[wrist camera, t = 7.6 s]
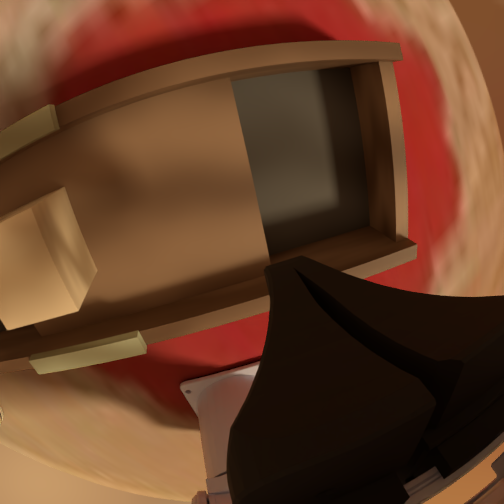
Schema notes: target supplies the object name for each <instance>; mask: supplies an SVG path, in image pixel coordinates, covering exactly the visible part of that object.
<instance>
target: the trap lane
mask: <svg viewBox="0 0 504 504" xmlns="http://www.w3.org/2000/svg"><path fill="white" fill-rule="evenodd" d="M400 60H403V56H402V52H401V47H400V43H392V42H378V41H352V40H332V41H305V42H290V43H279V44H270V45H261V46H254V47H247V48H240V49H234V50H228V51H223V52H217V53H212V54H207V55H203V56H198V57H194V58H189V59H185V60H181V61H177V62H174V63H170V64H166V65H163V66H159V67H156V68H152V69H149V70H146V71H143V72H139V73H136V74H133V75H130V76H127V77H125V78H122V79H119V80H116V81H113V82H111V83H108V84H106V85H103V86H100V87H98V88H95V89H93V90H91V91H88V92H86V93H83V94H81V95H79V96H77V97H74V98H72V99H70V100H68V101H66V102H63V103H61V104H59V105H57V106H54V105H51V104H48V105H46V106H44V107H43V108H41V109H39V110H37V111H35V112H33V113H31V114H30V115H28V116H26V117H24V118H22V119H21V120H19V121H17V122H16V123H14V124H12V125H11V126H9V127H7V128H6V129H4V130H3V131H1V132H0V217H2V216H4V215H5V214H7V213H9V212H11V211H13V210H15V209H17V208H19V207H21V206H23V205H25V204H27V203H29V202H31V201H34V200H36V199H38V198H40V197H42V196H44V195H47V194H49V193H51V192H53V191H55V190H58V189H60V188H62V187H65V189H66V192H67V195H68V198H69V201H70V204H71V207H72V209H73V212H74V215H75V217H76V220H77V223H78V225H79V228H80V230H81V233H82V235H83V238H84V240H85V243H86V245H87V248H88V250H89V252H90V255H91V257H92V259H93V261H94V264H95V266H96V268H97V270H98V271H97V273H96V275H95V277H94V279H93V281H92V283H91V285H90V287H89V289H88V292H87V294H86V296H85V298H84V300H83V302H82V305H81V307H80V309H79V311H77V312H74V313H70V314H66V315H63V316H59V317H56V318H52V319H48V320H45V321H41V322H37V323H34V324H30V325H26V326H23V327H19V328H15V329H11V330H7V329H6V327H5V326H4V324H3V322H2V321H1V319H0V374H1V373H8V372H15V371H21V370H27V369H33V368H34V369H35V370H36V372H37V373H38V374H39V375H40V374H46V373H52V372H58V371H64V370H69V369H75V368H80V367H85V366H90V365H95V364H100V363H105V362H110V361H115V360H119V359H124V358H128V357H133V356H137V355H142V354H146V352H147V345H148V344H152V343H156V342H160V341H164V340H168V339H172V338H176V337H180V336H183V335H187V334H191V333H195V332H198V331H202V330H206V329H209V328H213V327H216V326H220V325H223V324H227V323H230V322H234V321H237V320H240V319H244V318H247V317H250V316H254V315H257V314H260V313H264V312H267V311H270V296H269V292H268V287H267V283H266V279H265V275H264V269H265V267H266V266H269V265H272V264H275V263H278V262H282V261H285V260H288V259H291V258H294V257H298V256H301V255H302V256H305V257H308V258H310V259H313V260H315V261H317V262H320V263H322V264H324V265H327V266H329V267H332V268H334V269H336V270H339V271H341V272H344V273H347V274H349V275H352V276H355V277H358V278H361V279H364V278H367V277H370V276H372V275H375V274H378V273H380V272H383V271H385V270H388V269H391V268H393V267H396V266H398V265H401V264H404V263H406V262H409V261H411V260H414V259H416V258H417V244H416V243H414V242H413V241H411V240H409V239H408V191H407V170H406V156H405V144H404V134H403V125H402V117H401V109H400V102H399V96H398V90H397V84H396V78H395V73H394V68H393V63H392V62H394V61H400Z"/></svg>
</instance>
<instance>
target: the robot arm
mask: <svg viewBox="0 0 504 504" xmlns="http://www.w3.org/2000/svg"><path fill="white" fill-rule="evenodd" d="M264 275H265V279H266V283H267V287H268V292H269V296H270V311H269V323H268V330H267V336H266V341H265V345H264V349H263V353H262V357H261V360H260V361H259V362H255V363H252V364H249V365H245V366H242V367H238V368H235V369H231V370H228V371H224V372H220V373H217V374H213V375H209V376H205V377H201V378H197V379H193V380H189V381H185V382H182V383H181V384H180V389H181V391H182V393H183V394H184V396H185V397H186V399H187V401H188V402H189V404H190V405H191V407H192V408H193V410H194V412H195V413H196V415H197V416H198V419H199V427H200V434H201V441H202V448H203V455H204V461H205V468H206V474H207V479H206V484H207V490H208V494H206V491H198V492H197V495H195V496H194V498H193V499H192V504H423V503H424V502H425V501H427V500H429V499H431V498H432V497H434V496H435V495H437V494H438V493H440V492H441V491H443V490H444V489H446V488H447V487H449V486H450V485H452V484H453V483H454V482H456V481H457V480H458V479H460V478H461V477H463V476H464V475H465V474H467V473H468V472H469V471H470V470H472V469H473V468H474V467H476V466H477V465H478V464H479V463H480V462H482V461H483V460H484V459H485V458H486V457H488V456H489V455H490V454H491V453H492V452H493V451H495V450H496V449H497V448H498V447H499V446H500V445H501V444H502V443H503V442H504V295H503V296H485V297H455V296H440V295H431V294H424V293H417V292H411V291H405V290H400V289H396V288H392V287H388V286H383V285H380V284H376V283H373V282H370V281H367V280H364V279H361V278H358V277H355V276H352V275H349V274H347V273H344V272H341V271H339V270H336V269H334V268H332V267H329V266H327V265H324V264H322V263H320V262H317V261H315V260H313V259H310V258H308V257H305V256H302V255H301V256H298V257H294V258H291V259H288V260H285V261H282V262H278V263H275V264H272V265H269V266H266V267H265V269H264ZM491 467H492V468H493V470H494V471H495V473H496V474H497V477H496V478H495V479H494V480H493V481H492V482H491V483H489V484H488V485H487V486H486V487H485V488H483V489H482V490H481V491H480V492H479V493H477V494H476V495H475V496H473V497H472V498H471V499H470V500H468V501H467V502H466V503H464V504H504V452H503V453H502V454H501V455H500V457H498V458H497V459H496V460H495V461H494V462H493V463H492V465H491Z"/></svg>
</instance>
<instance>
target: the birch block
mask: <svg viewBox="0 0 504 504" xmlns="http://www.w3.org/2000/svg"><path fill="white" fill-rule="evenodd" d="M97 271H98V270H97V268H96V266H95V264H94V261H93V259H92V257H91V255H90V252H89V250H88V248H87V245H86V243H85V240H84V238H83V235H82V233H81V230H80V228H79V225H78V223H77V220H76V217H75V215H74V212H73V209H72V207H71V204H70V201H69V198H68V195H67V192H66V189H65V187H62V188H60V189H58V190H55V191H53V192H51V193H49V194H47V195H44V196H42V197H40V198H38V199H36V200H34V201H31V202H29V203H27V204H25V205H23V206H21V207H19V208H17V209H15V210H13V211H11V212H9V213H7V214H5V215H4V216H2V217H0V319H1V321H2V322H3V324H4V326H5V327H6V329H7V330H11V329H15V328H19V327H23V326H26V325H30V324H34V323H37V322H41V321H45V320H48V319H52V318H56V317H59V316H63V315H66V314H70V313H74V312H77V311H79V309H80V307H81V305H82V302H83V300H84V298H85V296H86V294H87V292H88V289H89V287H90V285H91V283H92V281H93V279H94V277H95V275H96V273H97Z"/></svg>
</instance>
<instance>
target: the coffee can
mask: <svg viewBox="0 0 504 504" xmlns="http://www.w3.org/2000/svg"><path fill="white" fill-rule="evenodd" d="M3 417H4V414H3V410H2V408H1V406H0V424H1V422H2V420H3Z"/></svg>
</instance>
